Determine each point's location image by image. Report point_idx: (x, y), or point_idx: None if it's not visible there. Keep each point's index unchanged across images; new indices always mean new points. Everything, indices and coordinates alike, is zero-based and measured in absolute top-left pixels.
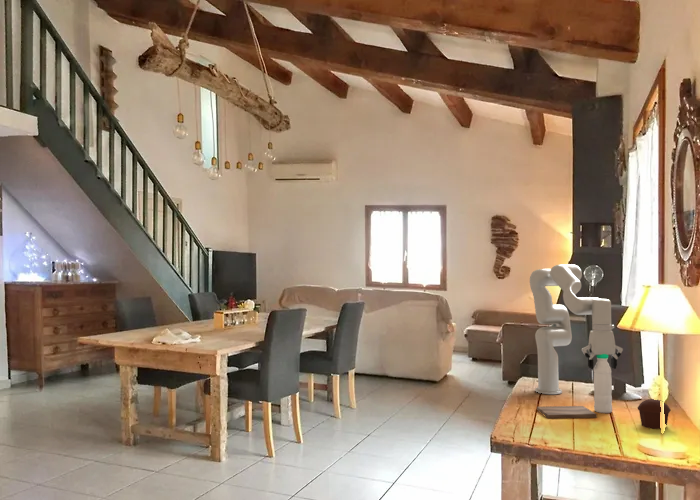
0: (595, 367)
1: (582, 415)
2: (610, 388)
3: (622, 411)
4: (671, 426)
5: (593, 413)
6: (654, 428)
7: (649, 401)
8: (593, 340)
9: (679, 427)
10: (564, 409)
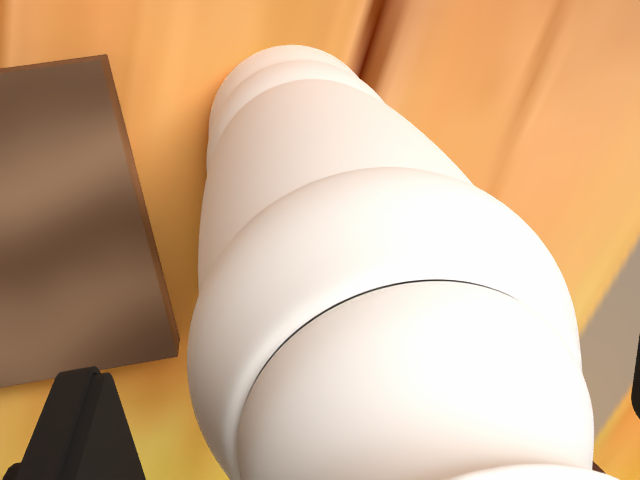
0: (215, 452)
1: (57, 371)
2: (398, 283)
3: (468, 102)
4: None
5: (155, 340)
6: None
7: None
8: None
9: (623, 468)
10: None
